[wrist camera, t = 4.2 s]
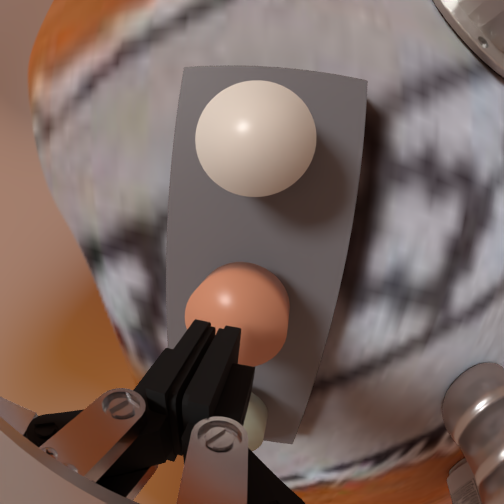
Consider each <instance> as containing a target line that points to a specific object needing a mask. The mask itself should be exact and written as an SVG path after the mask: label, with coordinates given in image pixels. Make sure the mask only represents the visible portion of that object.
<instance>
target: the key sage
mask: <svg viewBox="0 0 504 504" xmlns="http://www.w3.org/2000/svg"><path fill="white" fill-rule="evenodd" d="M267 417H268V411H267V407H266V405H265V404H264V402H263V401H262V400H261V399H260V398H259V397H258V396H256V395H255V394H253V393H252V392H251V396H250V401H249V405H248V409H247V413H246V417H245V421H244V425H243V427H244V428H245V430H246V431H247V434H248V448H249V449H250V450H251V451H254V450H256V449H257V448H258V447H260V446H261V444H262V442H263V438H264V433H265V428H266V422H267Z"/></svg>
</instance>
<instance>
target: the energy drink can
mask: <svg viewBox="0 0 504 504" xmlns="http://www.w3.org/2000/svg"><path fill="white" fill-rule="evenodd" d="M447 484H448V488H449V491H450V495H451V499H452V503H453V504H482V503H481V499H480V495H479V486H477V483H476V480H475V476H474V474H473V472H472V470H471V468H470V466H469V464H468V462H467V460H466V458H464V459H462V460H461V461H459V462H458V463H457V464H456V465H454V466H453V467H452V468H451V470H450V471H449V476H448V478H447Z"/></svg>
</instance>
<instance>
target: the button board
mask: <svg viewBox="0 0 504 504" xmlns="http://www.w3.org/2000/svg"><path fill="white" fill-rule="evenodd" d="M252 80H262V81H269V82H273V83H277V84H279V85H282V86H284V87H286V88H288V89H289V90H291V91H292V92H294V93H295V94H296V95H297V96H298V97H299V98H300V99H301V100H302V101H303V102H304V103H305V104H306V106H307V107H308V109H309V111H310V113H311V115H312V117H313V120H314V123H315V127H316V148H315V152H314V155H313V158H312V161H311V163H310V165H309V167H308V168H307V170H306V171H305V173H304V174H303V175H302V176H301V177H300V178H299V179H298V180H297V181H296V182H295V183H294V184H293V185H291V186H290V187H288V188H286V189H285V190H283V191H280V192H278V193H275V194H272V195H268V196H263V197H246V196H241V195H237V194H234V193H231V192H229V191H227V190H225V189H223V188H222V187H220V186H219V185H217V184H216V183H215V182H214V181H213V180H212V179H211V178H210V177H209V176H208V175H207V173H206V172H205V171H204V169H203V167H202V165H201V163H200V161H199V158H198V156H197V151H196V144H195V135H196V128H197V124H198V121H199V118H200V116H201V114H202V112H203V110H204V109H205V107H206V106H207V104H208V103H209V102H210V101H211V100H212V99H213V98H214V97H215V96H216V95H217V94H218V93H220V92H221V91H222V90H224V89H226V88H228V87H230V86H232V85H234V84H237V83H241V82H244V81H252ZM366 102H367V80H362V79H357V78H352V77H347V76H342V75H336V74H330V73H323V72H316V71H309V70H300V69H290V68H279V67H263V66H197V67H184V71H183V77H182V83H181V89H180V96H179V102H178V110H177V117H176V125H175V133H174V142H173V152H172V163H171V174H170V187H169V202H168V221H167V251H166V309H167V338H168V348H170V349H174V347H175V346H176V345H177V343H178V342H179V340H180V339H181V338H182V336H183V335H184V334H185V332H186V331H187V328H186V324H185V309H186V305H187V302H188V300H189V298H190V296H191V295H192V294H193V292H194V291H195V290H196V289H197V288H198V287H199V285H200V284H201V283H202V282H203V281H204V280H205V279H206V278H207V277H208V276H209V274H210V273H212V272H213V271H214V270H215V269H217V268H218V267H220V266H223V265H225V264H228V263H233V262H248V263H253V264H256V265H259V266H261V267H263V268H266V269H267V270H269V271H270V272H272V273H273V274H274V275H275V276H276V277H277V278H278V279H279V280H280V281H281V283H282V284H283V286H284V287H285V289H286V291H287V294H288V297H289V302H290V310H289V320H288V330H287V337H286V340H285V343H284V345H283V347H282V348H281V350H280V351H279V352H278V353H277V355H276V356H274V357H273V358H272V359H271V360H269V361H267V362H265V363H263V364H261V365H258V366H254V367H255V373H254V380H253V386H252V391H251V392H252V393H253V394H255V395H256V396H258V397H259V398H260V399H261V400H262V401H263V402H264V404H265V405H266V407H267V411H268V417H267V422H266V428H265V433H264V438H263V440H265V441H272V442H279V443H287V444H293V441H294V439H295V436H296V434H297V431H298V428H299V425H300V423H301V420H302V417H303V414H304V411H305V409H306V406H307V403H308V400H309V397H310V394H311V391H312V388H313V384H314V381H315V378H316V375H317V372H318V368H319V365H320V362H321V358H322V355H323V351H324V348H325V344H326V341H327V337H328V333H329V330H330V326H331V322H332V318H333V314H334V310H335V306H336V302H337V298H338V293H339V289H340V285H341V280H342V276H343V271H344V266H345V261H346V256H347V251H348V246H349V241H350V235H351V229H352V224H353V218H354V212H355V205H356V199H357V192H358V184H359V177H360V169H361V160H362V151H363V141H364V130H365V117H366Z"/></svg>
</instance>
